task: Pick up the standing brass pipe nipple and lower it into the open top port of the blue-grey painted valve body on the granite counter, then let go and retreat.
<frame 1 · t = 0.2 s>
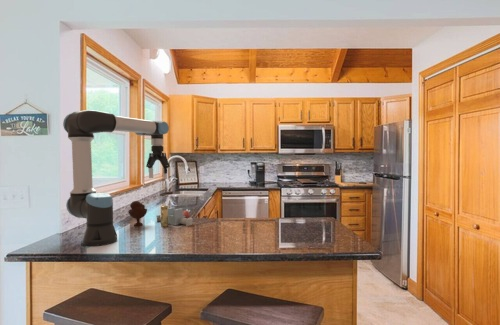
hand: (157, 178, 197), 27 cm above the countertop, fingers open, 13 cm apart
brass nipple: (164, 226, 181), on the countertop
valve: (174, 223, 190), on the countertop
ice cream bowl: (138, 225, 184), on the countertop
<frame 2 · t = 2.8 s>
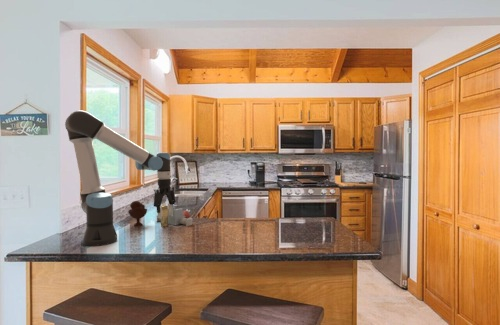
hand: (165, 216, 182), 6 cm above the countertop, fingers open, 8 cm apart
nothing on the countertop moved.
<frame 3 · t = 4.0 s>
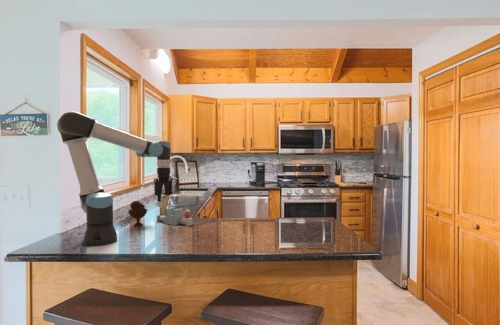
hand: (163, 206, 181), 12 cm above the countertop, fingers closed on brass nipple, 4 cm apart
brass nipple: (163, 215, 181), point 7 cm above the countertop, touching gripper
everything else where it was.
when the fingers open (11 cm above the countertop, at t = 6.7 s): brass nipple drops 2 cm, resting on valve.
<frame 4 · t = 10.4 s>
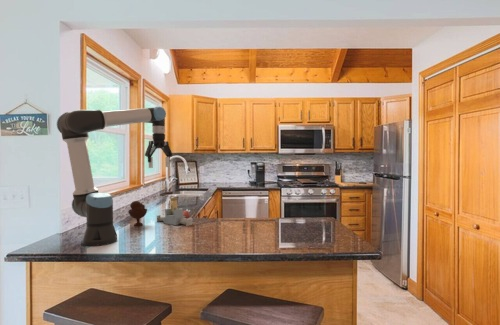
hand: (159, 167, 189), 35 cm above the countertop, fingers open, 13 cm apart
brass nipple: (174, 216, 189), point 4 cm above the countertop, touching valve
everything else where it was.
at the end: brass nipple 0.0 cm off-centre on the valve, point 4.0 cm above the valve's base; brass nipple tilted 0°; the gripper is holding nothing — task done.
